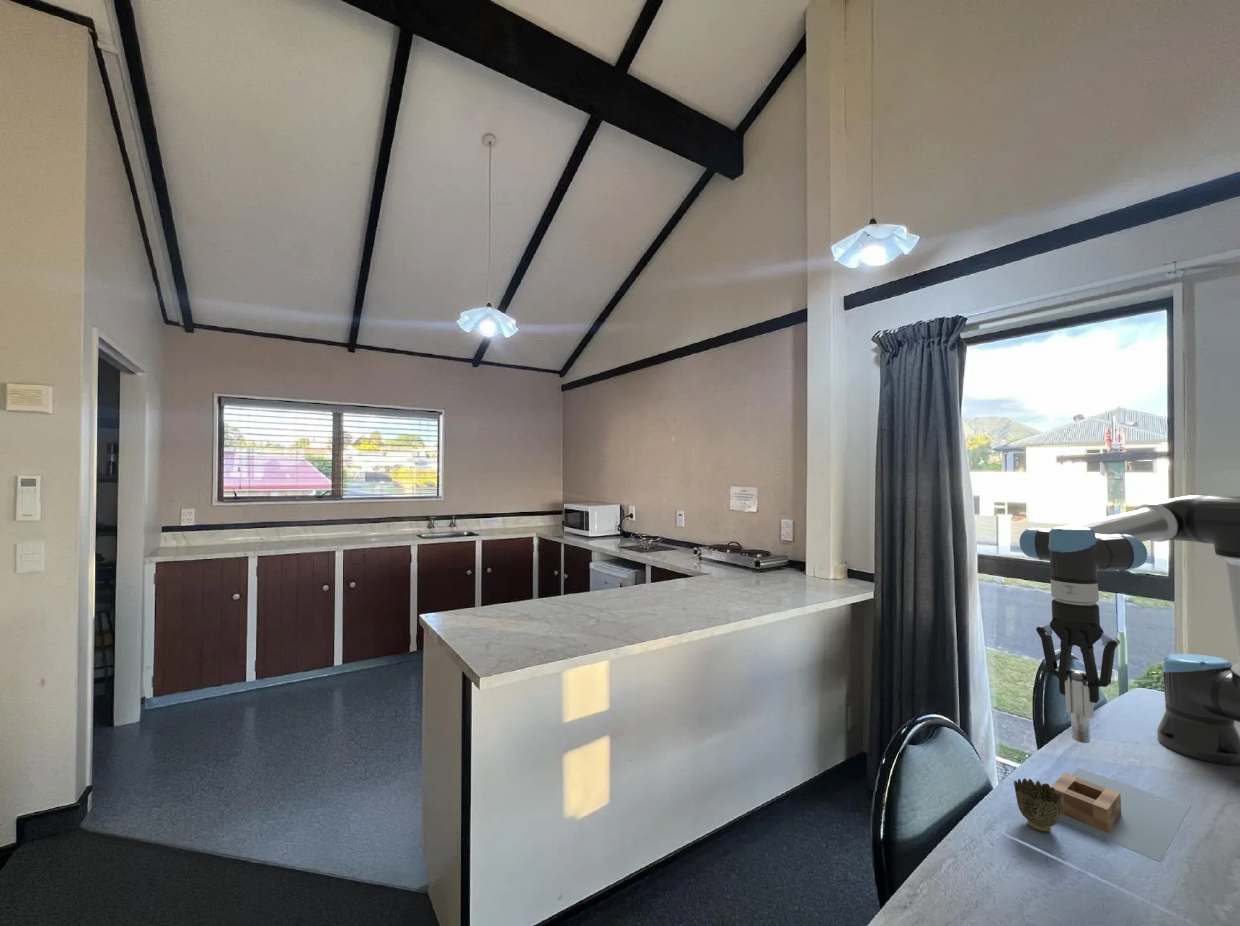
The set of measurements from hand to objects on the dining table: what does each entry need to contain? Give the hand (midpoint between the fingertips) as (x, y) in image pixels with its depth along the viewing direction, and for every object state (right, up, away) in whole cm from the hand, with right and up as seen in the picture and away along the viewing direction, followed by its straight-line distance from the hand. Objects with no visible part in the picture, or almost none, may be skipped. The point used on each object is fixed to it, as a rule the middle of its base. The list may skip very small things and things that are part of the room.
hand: (1079, 713), depth 107 cm
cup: (-12, -21, -4) cm, 25 cm away
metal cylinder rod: (0, -5, 0) cm, 5 cm away
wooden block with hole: (+1, -20, -1) cm, 20 cm away
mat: (+7, -20, 0) cm, 22 cm away
